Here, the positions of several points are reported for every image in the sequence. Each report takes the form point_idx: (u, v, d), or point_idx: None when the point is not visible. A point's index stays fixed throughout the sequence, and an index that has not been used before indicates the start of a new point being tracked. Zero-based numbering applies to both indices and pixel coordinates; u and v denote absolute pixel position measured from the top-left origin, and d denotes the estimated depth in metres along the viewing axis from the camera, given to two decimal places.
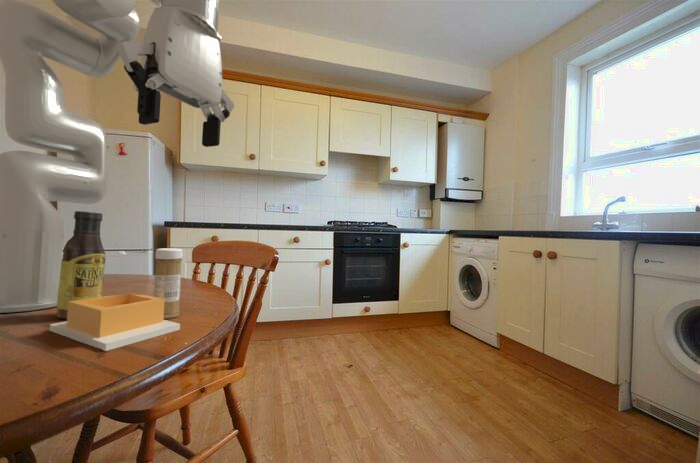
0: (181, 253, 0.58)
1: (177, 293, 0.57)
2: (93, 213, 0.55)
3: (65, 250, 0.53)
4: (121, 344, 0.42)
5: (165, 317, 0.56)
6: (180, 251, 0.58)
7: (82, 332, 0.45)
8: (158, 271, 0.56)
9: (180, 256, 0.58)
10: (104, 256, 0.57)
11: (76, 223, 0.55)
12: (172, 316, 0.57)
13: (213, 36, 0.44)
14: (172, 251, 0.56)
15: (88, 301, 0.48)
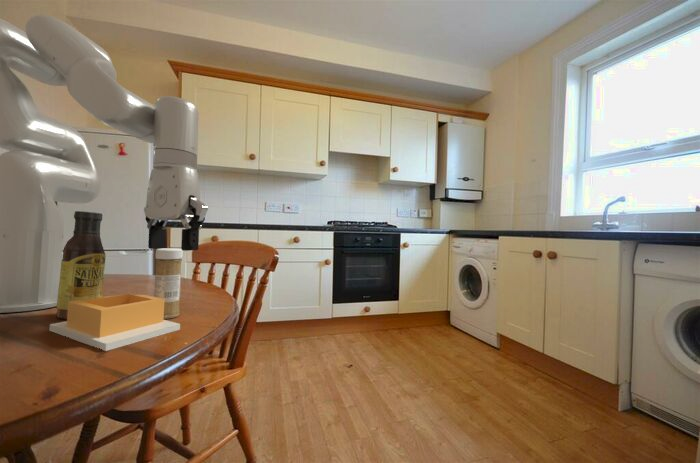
0: (181, 253, 0.58)
1: (177, 293, 0.57)
2: (92, 213, 0.55)
3: (65, 250, 0.53)
4: (121, 344, 0.42)
5: (165, 317, 0.56)
6: (180, 251, 0.58)
7: (82, 332, 0.45)
8: (158, 271, 0.56)
9: (180, 256, 0.58)
10: (104, 256, 0.57)
11: (76, 223, 0.55)
12: (172, 316, 0.57)
13: None
14: (172, 251, 0.56)
15: (88, 301, 0.48)
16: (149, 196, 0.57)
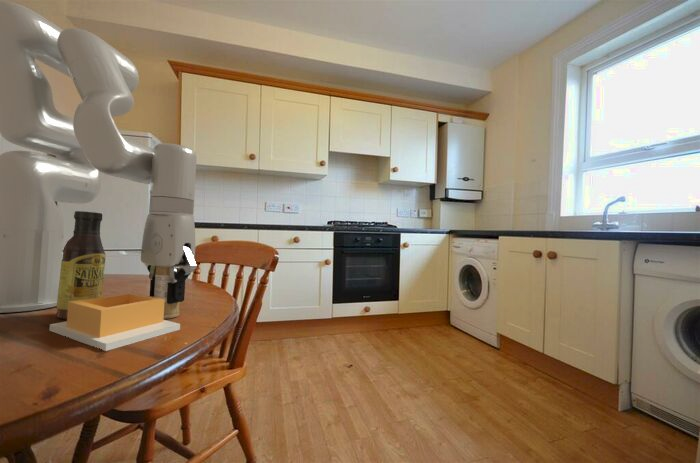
0: None
1: None
2: (92, 213, 0.55)
3: (65, 250, 0.53)
4: (121, 344, 0.42)
5: (165, 317, 0.56)
6: None
7: (82, 332, 0.45)
8: (158, 271, 0.56)
9: None
10: (104, 256, 0.57)
11: (76, 223, 0.55)
12: (172, 316, 0.57)
13: None
14: None
15: (88, 301, 0.48)
16: (145, 241, 0.57)
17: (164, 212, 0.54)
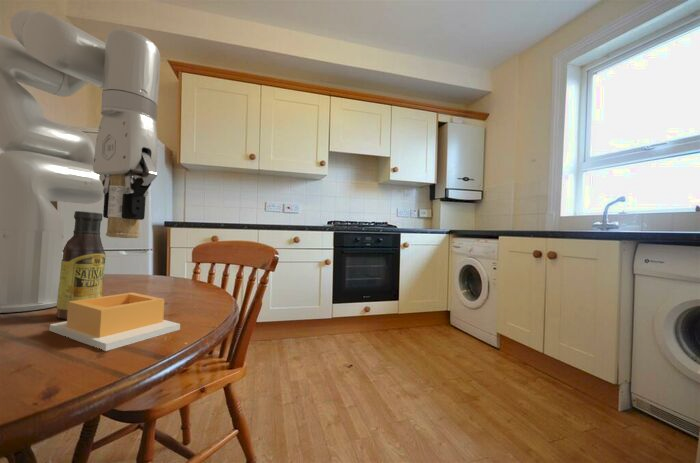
0: None
1: None
2: (93, 213, 0.55)
3: (65, 250, 0.53)
4: (121, 344, 0.42)
5: (120, 235, 0.47)
6: None
7: (82, 332, 0.45)
8: (112, 181, 0.47)
9: None
10: (104, 256, 0.57)
11: (76, 223, 0.55)
12: (129, 235, 0.48)
13: None
14: None
15: (88, 301, 0.48)
16: (97, 148, 0.48)
17: (118, 108, 0.46)
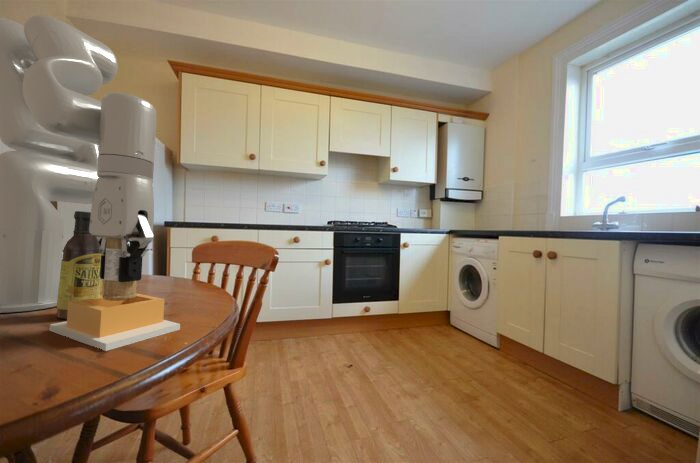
0: None
1: None
2: None
3: (65, 250, 0.53)
4: (121, 344, 0.42)
5: (117, 298, 0.47)
6: None
7: (82, 332, 0.45)
8: (108, 244, 0.47)
9: None
10: None
11: (76, 223, 0.55)
12: (126, 297, 0.48)
13: None
14: None
15: (88, 301, 0.48)
16: (93, 209, 0.48)
17: (113, 173, 0.46)
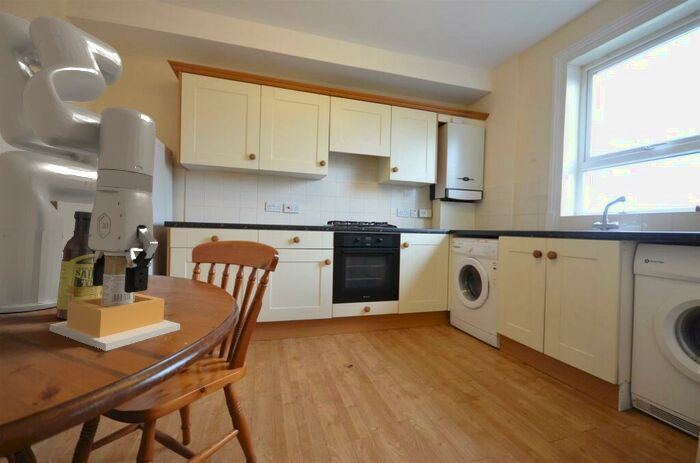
0: None
1: (130, 296, 0.49)
2: None
3: (65, 250, 0.53)
4: (121, 344, 0.42)
5: None
6: None
7: (82, 332, 0.45)
8: (106, 270, 0.47)
9: None
10: None
11: (76, 223, 0.55)
12: None
13: None
14: None
15: (88, 301, 0.48)
16: (92, 223, 0.48)
17: (113, 188, 0.46)
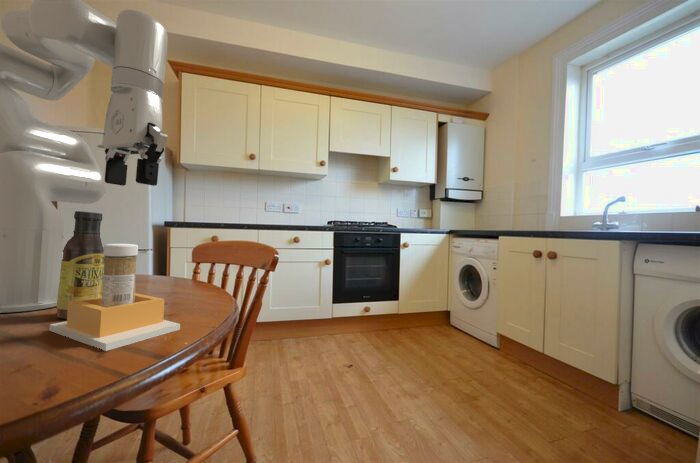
0: (135, 249, 0.50)
1: (130, 296, 0.49)
2: (93, 213, 0.55)
3: (65, 250, 0.53)
4: (121, 344, 0.42)
5: None
6: (134, 247, 0.49)
7: (82, 332, 0.45)
8: (106, 270, 0.47)
9: (134, 253, 0.49)
10: (104, 256, 0.57)
11: (76, 223, 0.55)
12: None
13: None
14: (123, 247, 0.48)
15: (88, 301, 0.48)
16: (107, 123, 0.51)
17: (126, 85, 0.49)
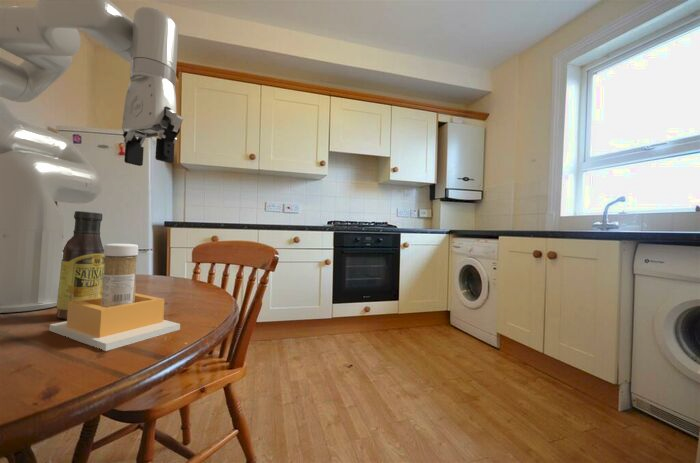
0: (135, 249, 0.50)
1: (130, 296, 0.49)
2: (92, 213, 0.55)
3: (65, 250, 0.53)
4: (121, 344, 0.42)
5: None
6: (134, 247, 0.49)
7: (82, 332, 0.45)
8: (106, 270, 0.47)
9: (134, 253, 0.49)
10: (104, 256, 0.57)
11: (76, 223, 0.55)
12: None
13: None
14: (123, 247, 0.48)
15: (88, 301, 0.48)
16: (126, 108, 0.57)
17: (144, 73, 0.55)
